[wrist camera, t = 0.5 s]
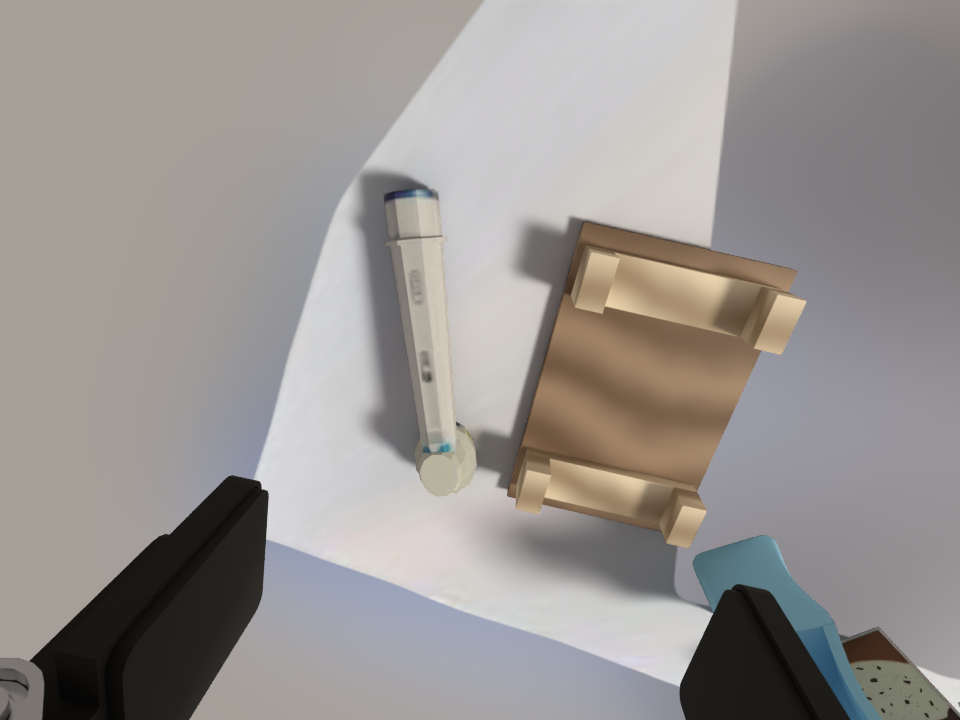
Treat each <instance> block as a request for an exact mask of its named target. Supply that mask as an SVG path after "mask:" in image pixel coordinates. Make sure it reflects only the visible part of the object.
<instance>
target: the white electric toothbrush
mask: <svg viewBox="0 0 960 720" xmlns="http://www.w3.org/2000/svg"><path fill="white" fill-rule="evenodd" d="M384 202H385V210H386V218H387V226H388V234H389V242H385V247H390V250H391V256H392V262H393V269H394V275H395V281H396V287H397V293H398V300H399V306H400V312H401V318H402V325H403V331H404V337H405V343H406V350H407V356H408V362H409V368H410V375H411V381H412V387H413V393H414V400H415V406H416V412H417V418H418V425H419V431H420V438H419V441H418V443H417V446H416V449H415V451H414V454H415V462H416V470H417V472H418V473H419V475H420V480H421V482H422V483H423V485H424V486H425V488H426V490H427V491H428V492H430V493H432V494H434V495H435V496H448V495H450V494H451V493H457V492H458V491H460V490H461V489H463V488H464V487H465V486H467V485H468V484H469V483H470V481H471V479H472V476H473V474H474V471H475V469H476V466H477V462H476V451H475V445H474V439H472V438H471V436H470V434H469V433H468V431H467V429H466V428H465V426H463V425H461V424H459V423H457V422H456V417H455V403H454V389H453V375H452V362H451V348H450V334H449V321H448V307H447V293H446V279H445V266H444V252H443V242H447V237H442V229H441V219H440V209H439V198H438V191H436V190H434V189H414V190H404V191H394V192H391V193H387V194H384Z"/></svg>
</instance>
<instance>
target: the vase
mask: <svg viewBox="0 0 960 720" xmlns="http://www.w3.org/2000/svg"><path fill="white" fill-rule="evenodd" d="M693 566H694V570H695V572H696V574H697V577H698V579H699V582H700V584H701V586H702V588H703V591H704V593H705V595H706V597H707V600H708V602H709V604H710V607H711V609H712V611H713V613H714V611H715V609H716V607H717V605H718V602H719V600H720V598H721V596H722V594H723V592H724V591H725V590H731V589H732V587H733V586H734V585H736V584H742V585H747V586H752V587H756V588H761V589H766V590H768V591H770V592H771V593H772V595H773V596H774V597H775V599H776V601H777V602H778V604H779V605H780V607H781V609H782V610H783V612H784V613H785V615H786V617H787V618H788V620H789V621H790V623H791V625H792V626H793V628H794V629H795V631H796V633H797V634H798V636H799V637H800V639H801V641H802V642H803V644H804V646H805V647H806V649H807V650H808V652H809V654H810V655H811V657H812V658H813V660H814V662H815V663H816V665H817V666H818V668H819V670H820V671H821V673H822V674H823V676H824V678H825V679H826V681H827V682H828V684H829V686H830V687H831V689H832V690H833V692H834V694H835V695H836V697H837V698H838V700H839V702H840V703H841V705H842V706H843V708H844V710H845V711H846V713H847V715H848V716H849V718H850V719H851V720H883V719H882V718H881V717H880V715H879V714H878V712H877V711H876V710H875V708H874V707H873V706H872V704H871V703H870V701H869V700H868V699H867V697H866V695H865V694H864V692H863V690H862V688H861V686H860V685H859V683H858V681H857V679H856V677H855V675H854V673H853V670H852V668H851V666H850V664H849V662H848V659H847V656H846V654H845V651H844V648H843V646H842V643H841V640H840V637H839V634H838V631H837V628H836V625H835V623H834V621H833V620H832V618H831V617H830V615H829V614H828V612H827V611H826V610H825V609H823V608H822V607H821V606H820V605H819V604H818V603H817V602H815V601H814V600H813V599H812V598H811V597H810V596H809V595H808V594H807V593H805V591H804V590H802V588H801V587H800V586H799V585H798V584H797V583H796V582H795V581H794V579H793V578H792V576H791V575H790V573H789V572H788V570H787V567H786V565H785V563H784V561H783V558H782V555H781V553H780V550H779V548H778V545H777V543H776V541H775V540H774V539H773V538H771V537H768V536H765V535H761V536H756V537H753V538H749V539H746V540H743V541H739V542H736V543H733V544H729V545H726V546H722V547H720V548H716V549H712V550H709V551H706V552H703V553H700V554H698V555H697V556H696V557H695V559H694V561H693Z"/></svg>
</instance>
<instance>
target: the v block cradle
mask: <svg viewBox="0 0 960 720" xmlns="http://www.w3.org/2000/svg"><path fill="white" fill-rule="evenodd" d="M796 273H797V271H796V270H793V269H791V268H786V267H782V266H778V265H773V264H769V263H764V262H760V261H756V260H751V259H746V258H743V257H738V256H734V255H729V254H725V253H721V252H716V251H712V250H707V249H703V248H699V247H694V246H690V245H686V244H681V243H677V242H672V241H668V240H664V239H659V238H655V237H651V236H646V235H642V234H637V233H633V232H629V231H624V230H620V229H616V228H611V227H607V226H602V225H598V224H594V223H589V222H585V221H583V224H582V227H581V231H580V234H579V238H578V242H577V245H576V249H575V252H574V256H573V259H572V263H571V266H570V270H569V274H568V277H567V281H566V284H565V288H564V291H563V295H562V298H561V302H560V306H559V309H558V313H557V316H556V320H555V323H554V327H553V330H552V334H551V337H550V341H549V345H548V348H547V352H546V355H545V359H544V362H543V366H542V369H541V373H540V377H539V380H538V384H537V387H536V391H535V394H534V398H533V401H532V405H531V409H530V412H529V416H528V419H527V423H526V426H525V430H524V433H523V437H522V441H521V444H520V448H519V451H518V455H517V458H516V462H515V465H514V469H513V473H512V476H511V480H510V483H509V487H508V493H507V496H508V497H513V498H516V509H518V510H523V511H527V512H531V513H536V514H539V512H540V509H541V506H542V504H543V505H548V506H552V507H556V508H561V509H565V510H569V511H574V512H578V513H582V514H587V515H591V516H596V517H600V518H604V519H609V520H613V521H617V522H622V523H626V524H631V525H635V526H639V527H644V528H648V529H652V530H657V531H661V532H662V534H663V537H664V539H665V542H666V543H667V544H671V545H676V546H680V547H684V548H690V546H691V544H692V541H693V539H694V537H695V535H696V533H697V531H698V529H699V527H700V525H701V523H702V520H703V518H704V516H705V514H706V512H707V510H706V508H705V506H704V504H703V503H702V501H701V499H700V497H699V495H698V493H697V490H698V488H699V486H700V483H701V481H702V479H703V477H704V475H705V473H706V470H707V468H708V466H709V464H710V462H711V459H712V457H713V455H714V453H715V450H716V448H717V446H718V444H719V442H720V440H721V438H722V435H723V433H724V431H725V429H726V426H727V424H728V422H729V420H730V418H731V415H732V413H733V411H734V409H735V407H736V405H737V402H738V400H739V398H740V396H741V394H742V391H743V389H744V387H745V385H746V383H747V381H748V378H749V376H750V374H751V372H752V370H753V368H754V365H755V363H756V361H757V359H758V357H759V354H760V352H761V350H763V351H768V352H772V353H776V354H780V355H781V354H782V352H783V350H784V348H785V346H786V344H787V342H788V339H789V337H790V335H791V333H792V331H793V329H794V327H795V325H796V323H797V320H798V318H799V316H800V314H801V312H802V310H803V308H804V306H805V304H806V301H805V300H803V299H801V298H799V297H797V296H795V295H793V294H791V293H789V292H788V291H789V289H790V287H791V284H792V282H793V280H794V278H795V276H796Z"/></svg>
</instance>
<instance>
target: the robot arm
mask: <svg viewBox="0 0 960 720" xmlns="http://www.w3.org/2000/svg"><path fill="white" fill-rule="evenodd" d="M268 498H269V496H268V491H266V490H262V488H261V483H260V482H259V481H256V480H251V479H246V478H242V477H237V476H233V475H232V476H229V477H227V478H226V479H225V480H224V481H223V482H222V483H221V484H220V485H219V486H218V487H217V488H216V489H215V490H214V491H213V492H212V493H211V494H210V495H209V496H208V497H207V498H206V499H205V500H204V501H203V502H202V503H201V504H200V505H199V506H198V507H197V508H196V509H195V510H194V511H193V512H192V513H191V514H190V515H189V516H188V517H187V518H186V519H185V520H184V521H183V522H182V523H181V524H180V525H179V526H178V527H177V528H176V529H175V530H174V531H173V532H172V533H171V534H170V535H168V534H164V535H162V536H159V537H158V538H157V539H155V540H154V541H153V542H152V543H151V544H150V545H149V546H147V547H146V548H145V549H144V550H143V551H142V552H141V553H140V554H139V555H138V556H137V557H136V558H135V559H134V560H133V561H132V562H131V563H130V564H129V565H128V566H127V567H126V568H125V569H124V570H123V571H122V572H121V573H120V574H119V575H118V576H117V577H116V578H114V579H113V580H112V581H111V583H109V584H108V585H107V586H106V587H105V588H104V589H103V590H102V591H101V592H100V593H99V594H98V595H97V596H96V597H95V598H94V599H93V600H92V601H91V602H90V603H89V604H88V605H87V606H86V607H85V608H84V609H83V610H82V611H80V613H78V614H77V615H76V616H75V617H74V618H73V619H72V620H71V621H70V622H69V623H68V624H67V625H66V626H65V627H64V628H63V629H62V630H61V631H60V632H59V633H58V634H57V635H56V636H55V637H54V638H53V639H52V640H51V641H50V642H49V643H48V644H47V645H46V646H44V647H43V648H42V649H41V650H40V652H38V653H37V654H36V655H35V656H34V657H33V658H32V659H31V660H30V661H26V660H23V659H20V658H0V720H189V719H190V718H191V716H192V714H193V713H194V711H195V709H196V708H197V706H198V705H199V703H200V701H201V700H202V698H203V696H204V695H205V693H206V692H207V690H208V688H209V687H210V685H211V684H212V682H213V680H214V679H215V677H216V675H217V674H218V672H219V671H220V669H221V667H222V666H223V664H224V662H225V661H226V659H227V658H228V656H229V654H230V653H231V651H232V649H233V648H234V646H235V645H236V643H237V641H238V640H239V638H240V636H241V635H242V633H243V632H244V630H245V628H246V627H247V625H248V623H249V622H250V620H251V619H252V617H253V615H254V614H255V612H256V610H257V608H258V606H259V603H260V600H261V597H262V591H263V575H264V560H265V545H266V529H267V513H268ZM680 702H681V705H682V709H683V712H684V715H685V718H686V720H851V719H850V718H849V716H848V715H847V713H846V711H845V710H844V708H843V706H842V705H841V703H840V702H839V700H838V698H837V697H836V695H835V694H834V692H833V690H832V689H831V687H830V686H829V684H828V682H827V681H826V679H825V678H824V676H823V674H822V673H821V671H820V670H819V668H818V666H817V665H816V663H815V662H814V660H813V658H812V657H811V655H810V654H809V652H808V650H807V649H806V647H805V646H804V644H803V642H802V641H801V639H800V637H799V636H798V634H797V633H796V631H795V629H794V628H793V626H792V625H791V623H790V621H789V620H788V618H787V617H786V615H785V613H784V612H783V610H782V609H781V607H780V605H779V604H778V602H777V601H776V599H775V597H774V596H773V595H772V593H771V592H770V591H768V590H766V589H761V588H756V587H752V586H747V585H742V584H736V585H734V586H733V587H732V589H731V590H725V591H724V592H723V594H722V596H721V598H720V600H719V602H718V605H717V607H716V609H715V611H714V613H713V615H712V617H711V619H710V622H709V624H708V626H707V628H706V630H705V632H704V634H703V636H702V639H701V641H700V643H699V645H698V647H697V649H696V651H695V654H694V656H693V658H692V660H691V662H690V664H689V666H688V668H687V671H686V673H685V675H684V677H683V679H682V681H681V684H680Z"/></svg>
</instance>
